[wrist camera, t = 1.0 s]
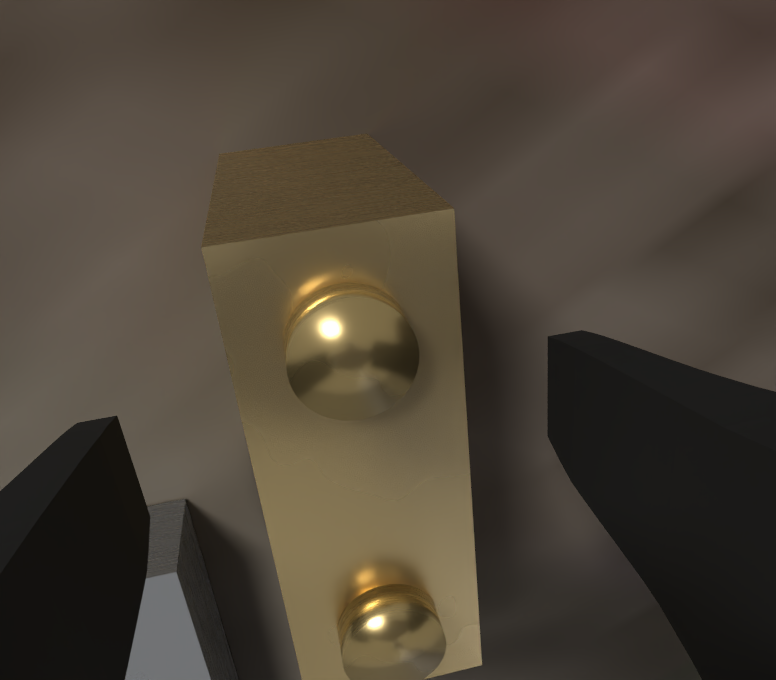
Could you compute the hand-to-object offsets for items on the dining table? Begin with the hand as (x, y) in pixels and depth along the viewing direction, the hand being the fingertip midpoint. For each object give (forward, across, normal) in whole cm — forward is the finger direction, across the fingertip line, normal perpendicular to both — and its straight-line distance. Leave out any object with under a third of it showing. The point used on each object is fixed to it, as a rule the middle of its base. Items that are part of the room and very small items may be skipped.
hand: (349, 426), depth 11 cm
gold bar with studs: (+5, 0, 0) cm, 5 cm away
